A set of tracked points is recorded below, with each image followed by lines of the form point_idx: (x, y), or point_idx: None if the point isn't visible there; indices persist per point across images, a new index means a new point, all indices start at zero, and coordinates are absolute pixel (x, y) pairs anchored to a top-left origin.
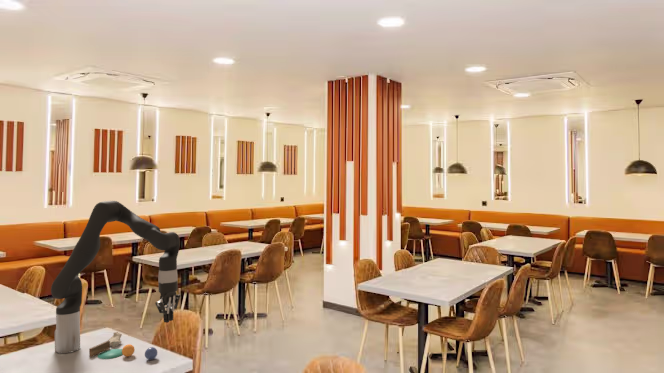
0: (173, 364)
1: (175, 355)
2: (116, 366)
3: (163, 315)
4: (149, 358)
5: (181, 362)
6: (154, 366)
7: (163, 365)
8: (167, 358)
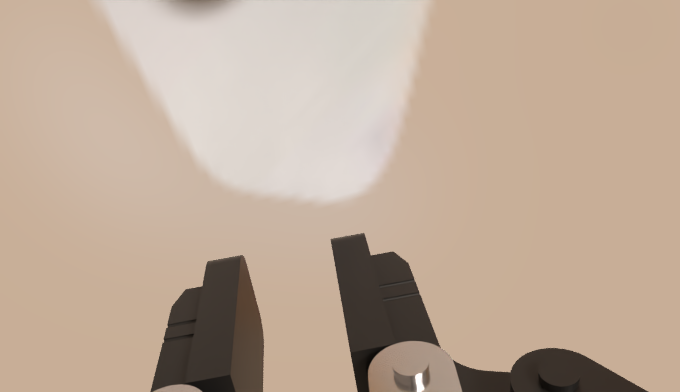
0: (260, 153)
1: (413, 16)
2: None
3: (153, 383)
4: None
5: (318, 179)
6: (146, 40)
7: (203, 96)
8: (329, 3)
